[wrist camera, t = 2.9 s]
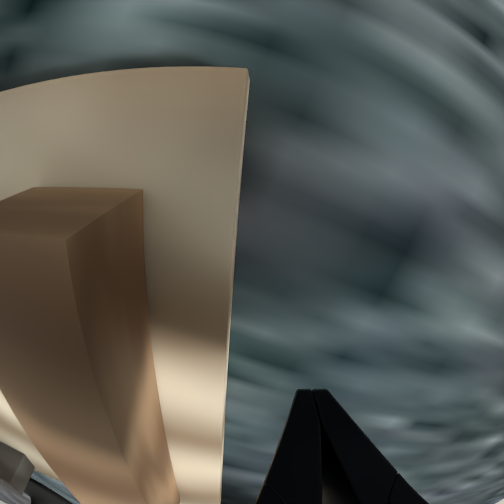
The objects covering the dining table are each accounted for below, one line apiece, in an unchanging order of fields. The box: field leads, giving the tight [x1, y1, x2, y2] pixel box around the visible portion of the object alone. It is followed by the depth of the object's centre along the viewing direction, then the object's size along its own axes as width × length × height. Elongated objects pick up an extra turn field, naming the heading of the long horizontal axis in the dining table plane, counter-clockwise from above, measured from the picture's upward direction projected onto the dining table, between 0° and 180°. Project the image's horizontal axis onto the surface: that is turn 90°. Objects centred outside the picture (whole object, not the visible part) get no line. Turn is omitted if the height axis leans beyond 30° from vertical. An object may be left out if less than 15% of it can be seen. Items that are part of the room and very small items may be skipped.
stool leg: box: [0, 187, 180, 504], centre depth 9 cm, size 17×4×4 cm, turn 175°
